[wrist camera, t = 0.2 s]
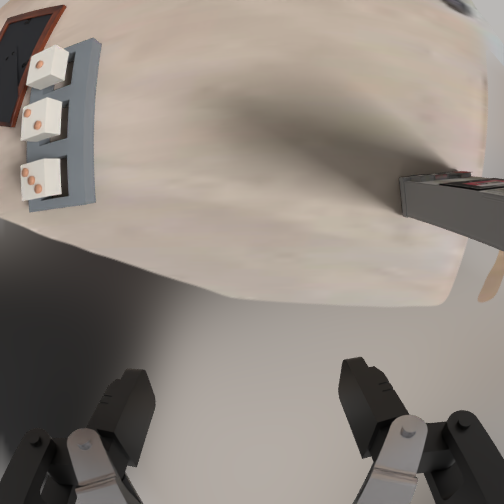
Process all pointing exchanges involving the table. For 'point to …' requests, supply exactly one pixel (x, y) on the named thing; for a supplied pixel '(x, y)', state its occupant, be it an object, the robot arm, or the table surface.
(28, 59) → the picture frame
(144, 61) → the table surface
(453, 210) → the tall grey labeled box
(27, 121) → the tile two
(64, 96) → the board
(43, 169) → the tile three
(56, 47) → the tile one
